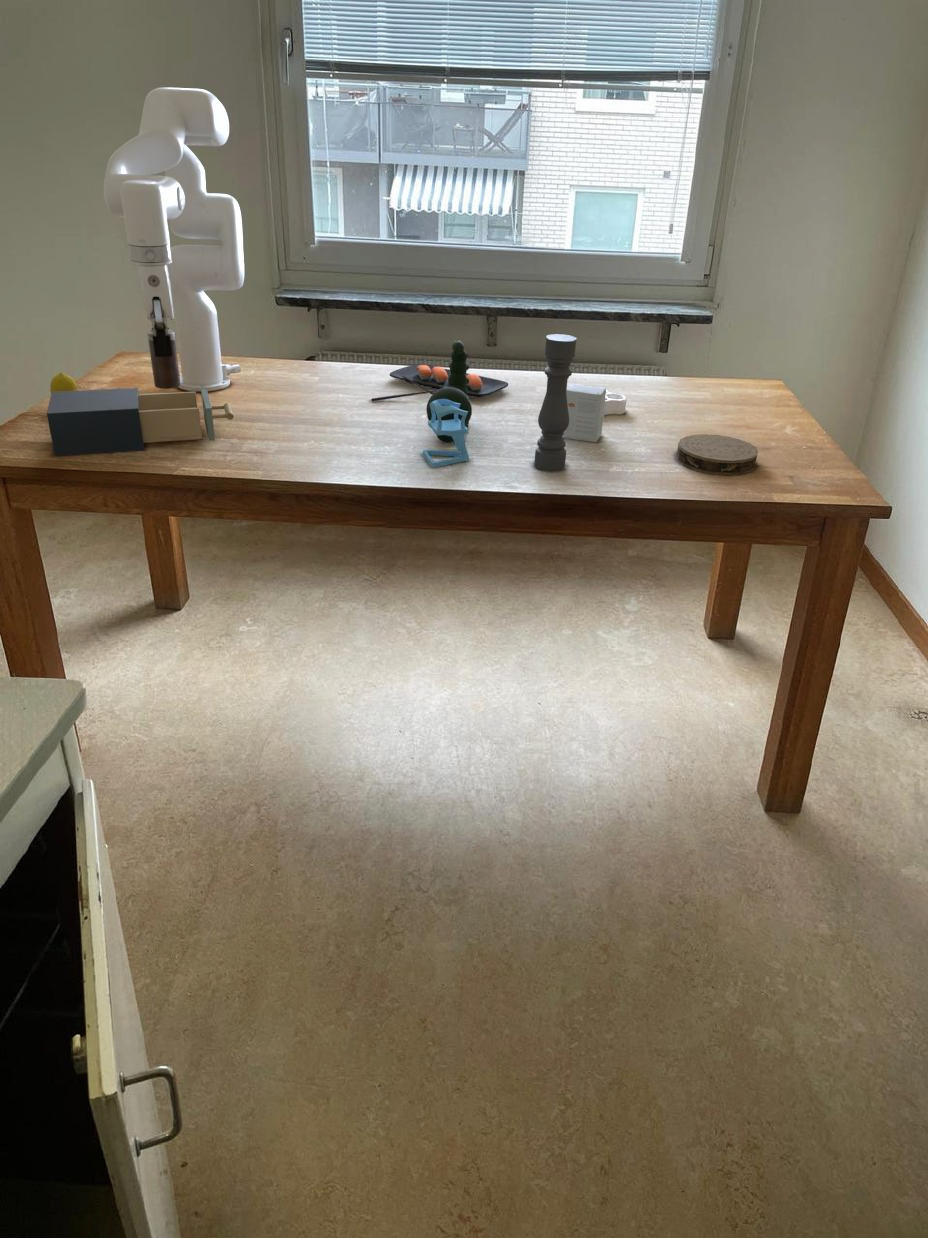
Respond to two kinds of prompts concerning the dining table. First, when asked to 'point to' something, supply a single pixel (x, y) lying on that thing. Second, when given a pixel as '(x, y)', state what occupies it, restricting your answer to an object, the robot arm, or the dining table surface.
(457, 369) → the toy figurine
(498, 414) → the dining table surface
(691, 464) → the tambourine
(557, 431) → the candle holder
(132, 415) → the cabinet
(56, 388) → the lemon
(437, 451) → the chair
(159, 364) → the brown lidded jar
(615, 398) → the white brass knuckles
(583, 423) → the small box
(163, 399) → the drawer
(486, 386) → the sushi plate
